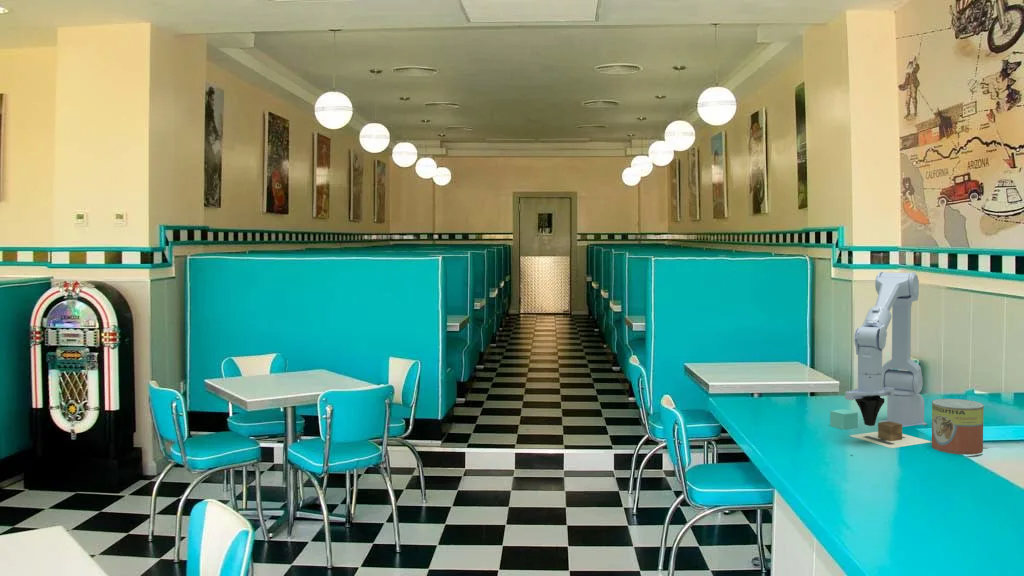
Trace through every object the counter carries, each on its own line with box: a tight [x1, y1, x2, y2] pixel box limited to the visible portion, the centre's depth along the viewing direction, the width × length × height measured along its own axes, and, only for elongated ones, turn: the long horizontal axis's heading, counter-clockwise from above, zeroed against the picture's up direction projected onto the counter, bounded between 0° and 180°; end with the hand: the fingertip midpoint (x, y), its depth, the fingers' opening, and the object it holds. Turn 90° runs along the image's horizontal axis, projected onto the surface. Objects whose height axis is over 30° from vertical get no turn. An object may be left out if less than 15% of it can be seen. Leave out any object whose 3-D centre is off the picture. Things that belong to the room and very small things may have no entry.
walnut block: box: [877, 421, 903, 441], centre depth 205 cm, size 4×4×4 cm
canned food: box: [931, 398, 985, 458], centre depth 194 cm, size 11×11×12 cm
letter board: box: [848, 431, 932, 449], centre depth 205 cm, size 14×14×1 cm
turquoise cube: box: [829, 408, 859, 430], centre depth 218 cm, size 5×5×5 cm
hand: (869, 425), depth 202 cm, fingers closed
